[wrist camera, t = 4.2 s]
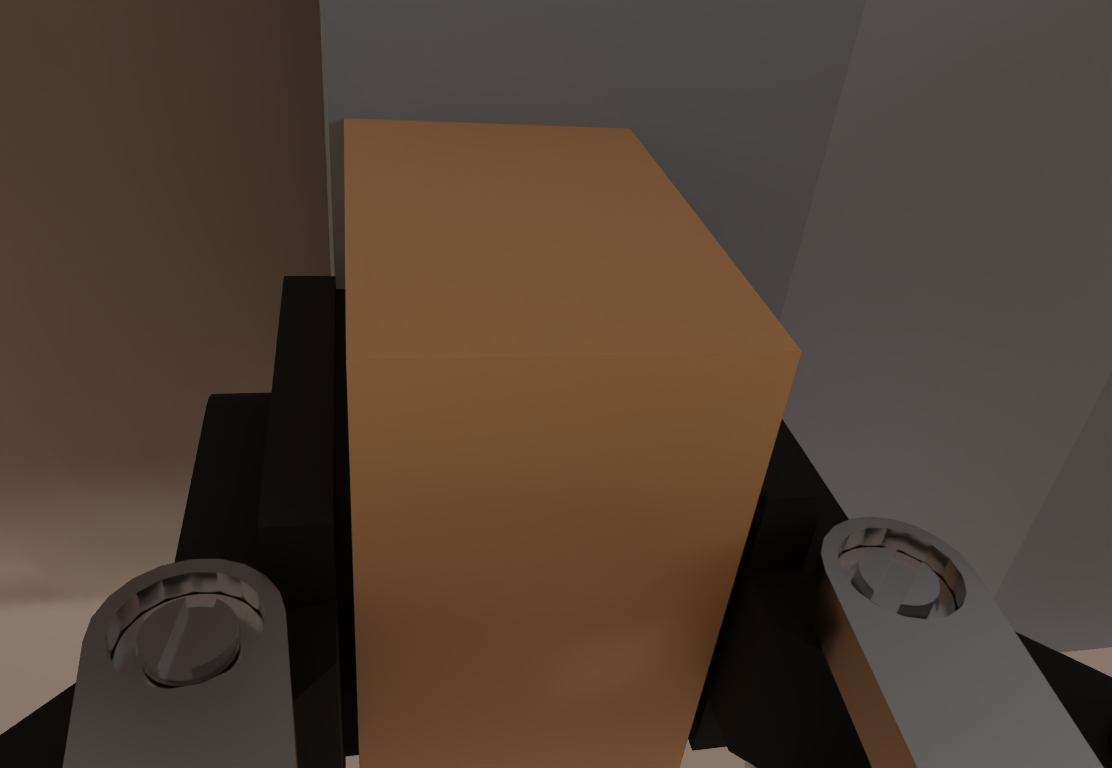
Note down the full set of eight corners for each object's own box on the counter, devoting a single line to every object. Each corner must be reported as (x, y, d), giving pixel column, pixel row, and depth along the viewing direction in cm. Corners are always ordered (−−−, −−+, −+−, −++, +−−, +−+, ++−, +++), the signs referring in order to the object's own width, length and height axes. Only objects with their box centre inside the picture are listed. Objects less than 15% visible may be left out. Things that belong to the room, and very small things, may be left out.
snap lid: (1608, -165, 12) (2537, -103, 7) (1139, 571, 19) (1421, 860, 14) (315, -350, 8) (275, -504, 3) (350, 637, 16) (356, 1050, 11)
